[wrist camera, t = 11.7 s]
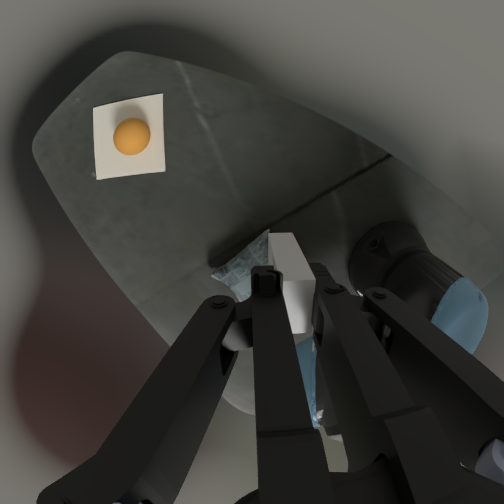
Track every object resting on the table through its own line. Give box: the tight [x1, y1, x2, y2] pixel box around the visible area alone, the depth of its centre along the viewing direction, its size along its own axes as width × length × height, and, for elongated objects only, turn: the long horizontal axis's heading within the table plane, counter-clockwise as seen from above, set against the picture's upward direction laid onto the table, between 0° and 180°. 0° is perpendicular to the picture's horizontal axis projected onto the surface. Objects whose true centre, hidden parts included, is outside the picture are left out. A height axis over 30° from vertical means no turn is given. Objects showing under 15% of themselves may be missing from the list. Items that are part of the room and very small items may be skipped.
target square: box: [93, 93, 166, 180], centre depth 37 cm, size 12×12×1 cm
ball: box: [113, 118, 151, 155], centre depth 34 cm, size 6×6×6 cm
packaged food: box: [211, 228, 270, 302], centre depth 43 cm, size 9×12×5 cm
